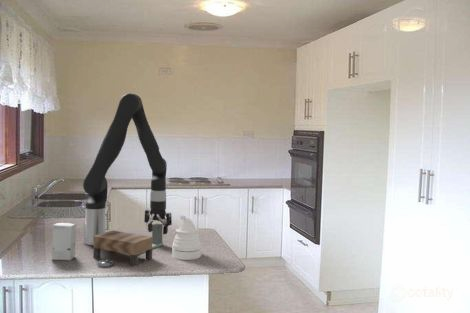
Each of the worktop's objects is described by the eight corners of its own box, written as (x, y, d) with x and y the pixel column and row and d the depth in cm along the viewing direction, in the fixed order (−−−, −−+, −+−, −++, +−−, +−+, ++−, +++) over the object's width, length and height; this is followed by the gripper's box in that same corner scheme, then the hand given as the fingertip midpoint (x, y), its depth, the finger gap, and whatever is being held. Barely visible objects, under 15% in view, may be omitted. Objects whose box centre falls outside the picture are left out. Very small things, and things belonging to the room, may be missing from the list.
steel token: (94, 266, 189) (94, 262, 189) (104, 262, 195) (104, 258, 195) (106, 269, 187) (106, 265, 187) (115, 264, 192) (115, 261, 192)
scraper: (156, 243, 226) (156, 223, 225) (163, 245, 224) (163, 224, 223) (128, 254, 207) (128, 231, 206) (135, 255, 205) (136, 232, 205)
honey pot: (174, 260, 199) (175, 219, 198) (170, 252, 212) (170, 213, 210) (203, 258, 203) (204, 218, 202) (197, 250, 215) (198, 212, 214)
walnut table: (93, 257, 200) (93, 236, 199) (112, 251, 211) (112, 230, 210) (134, 266, 190) (134, 243, 190) (152, 258, 201) (152, 237, 200)
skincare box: (51, 260, 195) (51, 225, 194) (57, 255, 202) (56, 222, 200) (71, 260, 195) (71, 225, 194) (76, 256, 201) (76, 222, 200)
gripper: (141, 199, 221) (140, 232, 222) (165, 202, 215) (165, 236, 216) (150, 196, 228) (150, 229, 229) (175, 199, 221) (174, 233, 223)
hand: (157, 232), depth 222 cm, fingers open, 8 cm apart
